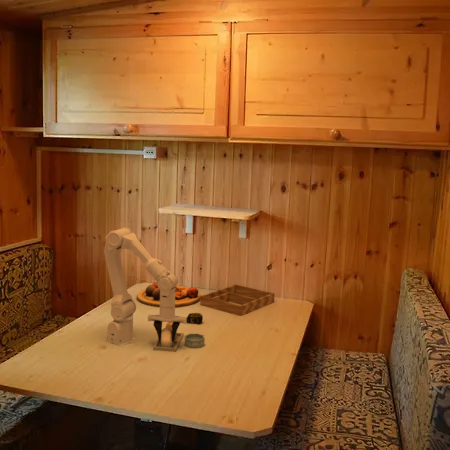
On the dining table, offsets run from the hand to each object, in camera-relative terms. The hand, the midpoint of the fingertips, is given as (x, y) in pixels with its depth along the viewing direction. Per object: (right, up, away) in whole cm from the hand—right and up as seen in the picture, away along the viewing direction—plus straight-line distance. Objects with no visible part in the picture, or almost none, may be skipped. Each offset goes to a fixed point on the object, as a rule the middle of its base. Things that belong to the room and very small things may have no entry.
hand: (166, 340), depth 198 cm
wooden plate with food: (-6, +6, +64) cm, 65 cm away
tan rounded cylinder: (0, -2, 0) cm, 2 cm away
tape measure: (+8, +1, +29) cm, 30 cm away
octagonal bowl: (+10, -3, +3) cm, 11 cm away
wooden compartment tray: (+28, +5, +59) cm, 65 cm away
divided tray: (0, -2, +4) cm, 5 cm away
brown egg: (+1, -1, +8) cm, 8 cm away
